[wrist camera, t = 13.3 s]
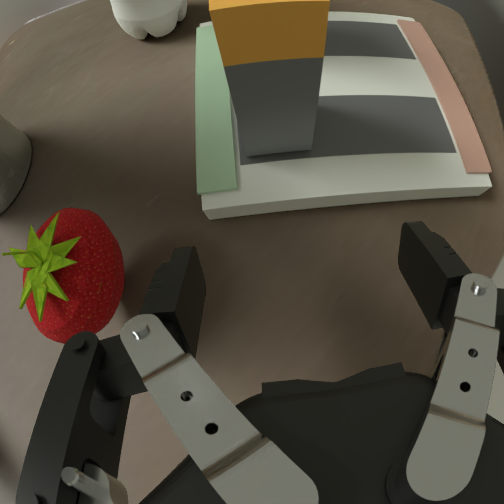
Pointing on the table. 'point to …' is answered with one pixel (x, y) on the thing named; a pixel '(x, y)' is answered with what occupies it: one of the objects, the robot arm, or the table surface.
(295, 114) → the orange-topped grey pillar
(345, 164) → the grey base plate
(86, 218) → the strawberry
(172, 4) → the water bottle
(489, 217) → the table surface
